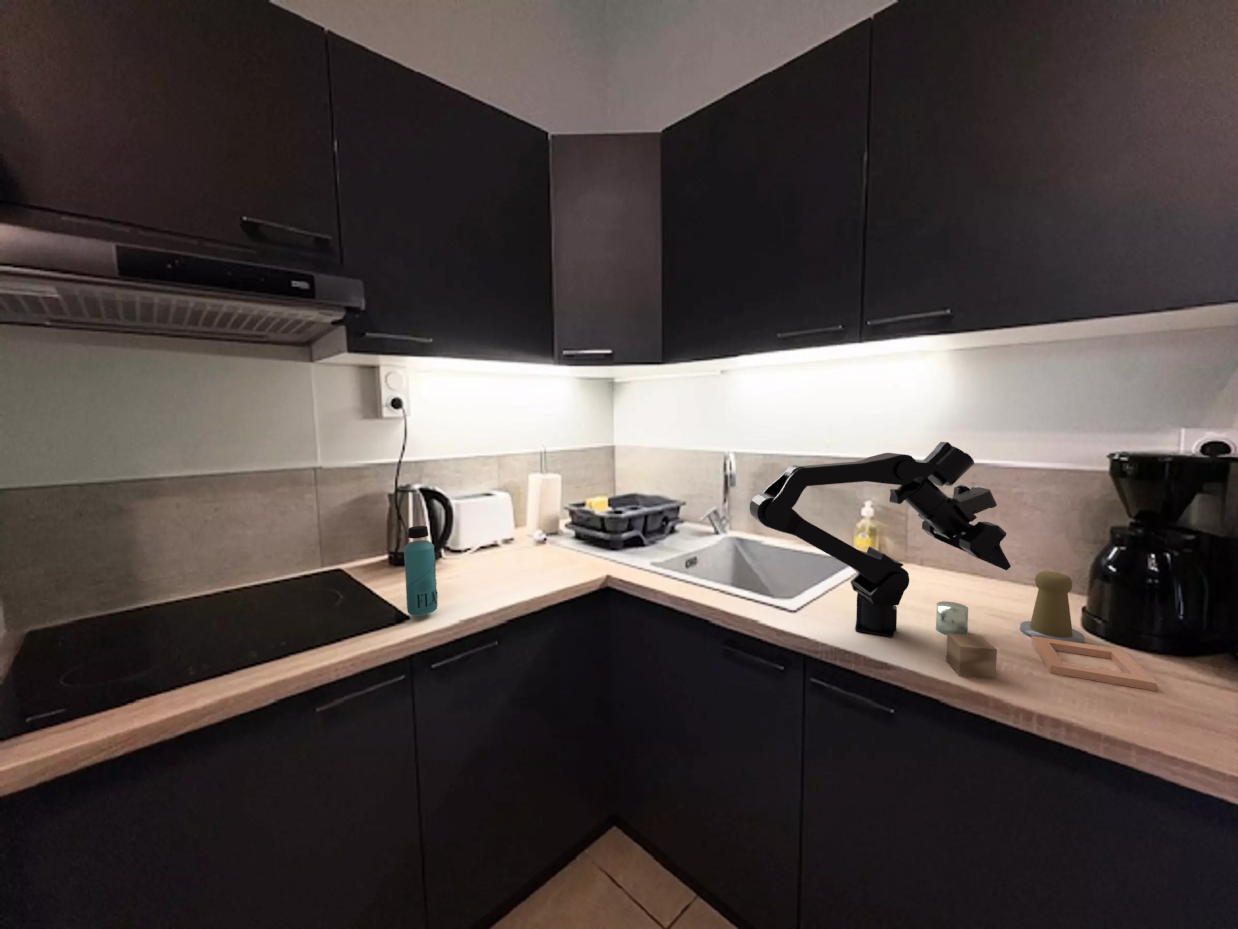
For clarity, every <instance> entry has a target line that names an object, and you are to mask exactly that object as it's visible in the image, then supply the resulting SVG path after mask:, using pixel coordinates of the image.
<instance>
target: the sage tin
mask: <svg viewBox="0 0 1238 929" xmlns="http://www.w3.org/2000/svg"><path fill="white" fill-rule="evenodd" d="M935 610H936V614H935V615H936V616H935V618H936V619H935V630H936V631H937V632H939V633H940V634H943V635H945V636H947V633H952V634H967V635H968V634H969V632H968V630H969V626H968V625H969V607H968V606H967V605H964V604H963V603H962V604H961V603H959V602H955V601H946V600H945V601H938V602H937V603H936V609H935Z"/></svg>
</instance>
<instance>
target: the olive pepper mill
mask: <svg viewBox="0 0 1238 929" xmlns="http://www.w3.org/2000/svg"><path fill="white" fill-rule="evenodd" d="M1034 583H1035V586H1036V587H1037V589H1038V590H1037V594H1036V599H1035V602H1034V603H1035V604H1034V607H1033V610H1032V611H1033V612H1032V615H1031V620H1030V621H1031V624H1030V628H1031V629H1032V630H1034V631H1036V632H1038V633H1041V634H1044V635H1048V636H1053V637H1060V638H1068V637H1072V636H1073V633H1072V629H1073V626H1072V618H1071V610H1070V602H1069V594H1068V593H1070V592H1071V590H1072V588H1073V581H1072V579H1071V577H1070V576H1069V575H1067V574H1065V573H1061V572H1057V571H1051V570H1050V571H1049V570H1048V571H1047V570H1045V571H1044V570H1043V571H1039V572H1038V573H1036V574H1035V577H1034Z"/></svg>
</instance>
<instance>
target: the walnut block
mask: <svg viewBox="0 0 1238 929" xmlns="http://www.w3.org/2000/svg"><path fill="white" fill-rule="evenodd" d="M946 636H947V637H946V653H945V654H946V655H945V656H946V657H945V658H946V660H945V661H946V663H947V664H948V665H949V666H950V668H951V669H952V670H953V671H954V672H955V673H956V674H957V675H958V677H960V676H966V677H965V678H971V677H976V678H975V679H983V678H984V679H986V680H994V679H996V680H997V662H998V660H997V658H998V649H997V648H996V647H995V646H994V645H993V644H992V643H991V642H990V641H988V640H987V639H986V638H985V637H984V636H983V635H980V634H979V635H977V634H968V633H967V634H952V633H947V635H946Z"/></svg>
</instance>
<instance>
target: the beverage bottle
mask: <svg viewBox="0 0 1238 929" xmlns="http://www.w3.org/2000/svg"><path fill="white" fill-rule="evenodd" d="M426 537H429V529H428V526H426V525H416V526H411V527H409V528H408V529H407V538H408V539H421V540H414V541H410V542H408V543H407V544H406V545H405V546H404V548H403V558H404V559H403V561H404V575H405V593H406V594H405V595H406V598H405V599H406V609H407V610H406V611H407V613H408V614H409V615H411V616H423V615H429V614H431V613H433V612H435V611H436V610H438V599H439V598H438V597H439V596H438V588H437V585H438V582H437V581H438V580H437V574H436V572H437V568H436V566H437V563H436V555H435V545H434V544H433V543H432V542H431V541H430V540H426V539H423V540H422V538H426Z"/></svg>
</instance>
